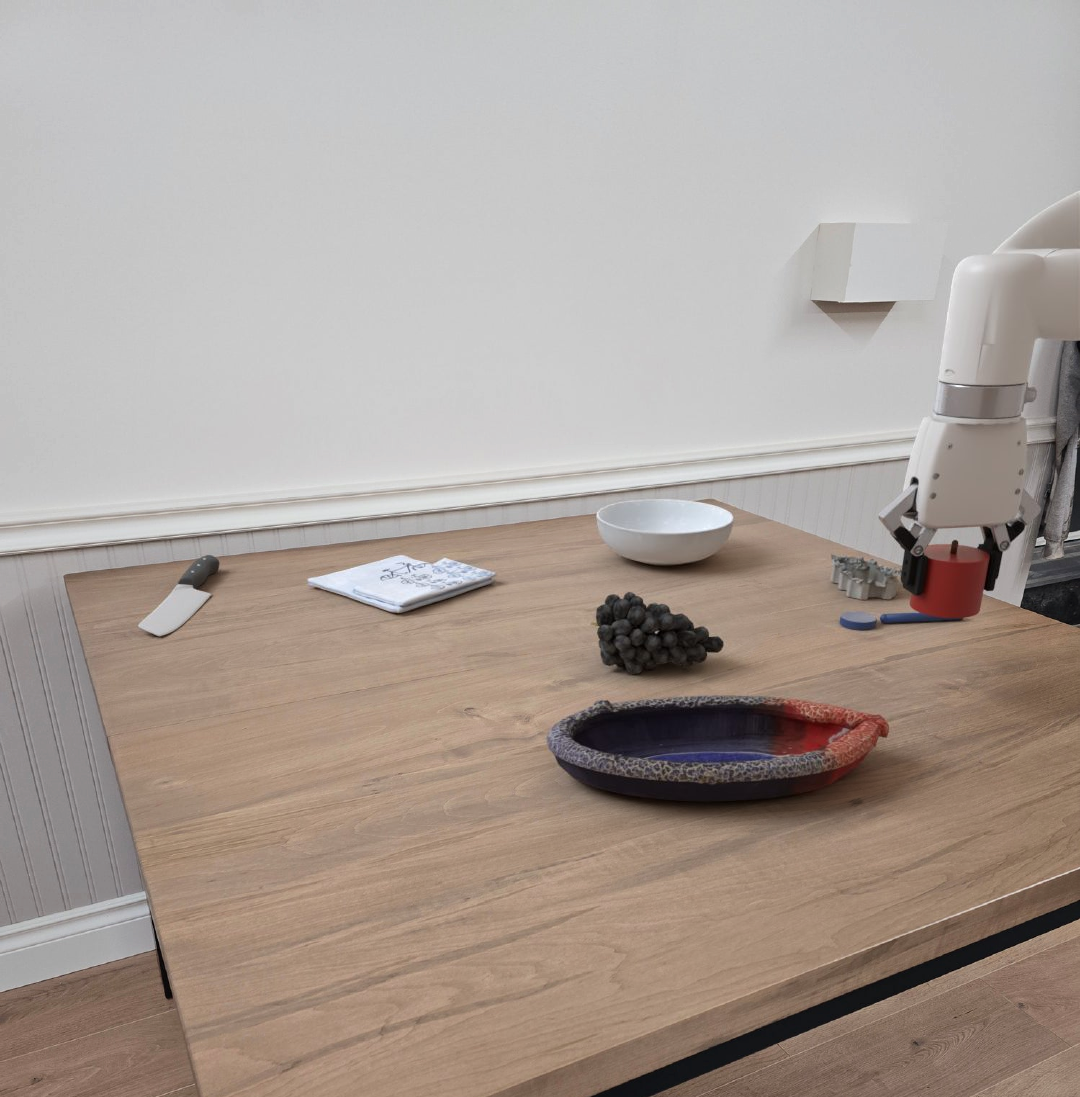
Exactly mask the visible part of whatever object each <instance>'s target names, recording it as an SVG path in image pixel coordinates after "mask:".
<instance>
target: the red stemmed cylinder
mask: <svg viewBox="0 0 1080 1097" xmlns="http://www.w3.org/2000/svg"><path fill="white" fill-rule="evenodd" d="M924 555H926V556H927V557H928V566H927V573H926V579H925V586H924V592H923V594H921V595H918V596H915V595H913V594H912V593H910V598H909V606H910V608H911V609H912V610H914V611H915V612H920V613H923V614H926V615H930V616H935V617H942V618H963V619H966V618H970V617H974V616H976V615H979V613H980V611H981V607H982V601H983V595H984V591H985V590H984V586H985V580H986V575H987V569H988V564H989V558H990V555H989V554H988V553H987V552H985V551H983V550H981V549H978V548H977V547H974V546H969V545H963V544H959V541H958V540H957V539H953V540H952V541H951V543H938V544H936V543H935V544H928V546H927V548H926V549H925V551H924Z"/></svg>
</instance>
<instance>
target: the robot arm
mask: <svg viewBox="0 0 1080 1097" xmlns="http://www.w3.org/2000/svg"><path fill="white" fill-rule="evenodd" d="M1038 339H1041V340H1052V341H1068V342H1078V341H1080V189H1079V190H1077V191H1075V192H1073V193H1071V194H1070V195H1068V196H1065V197H1064V198H1062V199H1060V200H1058V201H1056V202H1055V203H1053V204H1051V205H1049V206H1048V207H1046V208H1044V209H1043V210H1041V211H1040V212H1038V213H1037V214H1036V215H1034V216H1033V217H1031V218H1030V219H1029V220H1027V221H1026V222H1025V223H1024V224H1022V225H1021V226H1020V227H1019V228H1018V229H1017V230H1015V231H1014V232H1013V233H1012V234H1011V235H1010V236H1008V237H1007V238H1006V239H1005V240H1004V241H1003V242H1001V244H1000V245H999V246H998V247H997V248H995V249H994V250H993V252H992V253H982V254H974V255H969V256H967V257H965V258H963V259H961V261H959V263H958V264H957V266H956V267H955V269H954V272H953V276H952V282H951V288H950V295H949V301H948V308H947V316H946V322H945V329H944V336H943V342H942V350H941V357H940V362H939V370H938V376H937V381H936V382H937V384H936V388H935V395H934V396H935V397H934V404H933V408H932V410H933V411H932V415H928V416H924V417H923V418H922V420H921V422H920V425H919V427H918V430H917V433H916V437H915V439H914V442H913V446H912V450H911V453H910V457H909V460H908V464H907V469H906V473H905V478H904V483H903V486H902V492H901V493H900V494H899V495H898V496H897V497H896V498H895V499H893V500H892V501H891V502H890V503H888V504H887V505H886V506H885V507H884V508H883V509H882V510H881V511H880V512H879V513H878V520H879V521H880V522H881V523H882V525H883V526H884V527H885V528H886V530H887V531H888V532H889V534H890V536H891V537H892V538H893V539H894V540H895V541H896V542H897V543H898V545H899V547H900V548H901V549H902V550H903V551H904V552H903V558H902V565H901V570H902V571H901V575H900V582H901V584H902V588H903V589H905V590H906V591H908V592H909V593H910V594H911V593H912V594H913V595H915V596H918V595H921V594H923V592H924V586H925V579H926V573H927V566H928V557H927V556H926V555H924V551H925V549H926V548H927V546H928V545H930V543H931V541H932V540H933V538H934V536H935V535H936V533H937V532H938V530H939V529H942V530H943V529H962V528H978V527H979V528H980V532H981V535H982V538H983V543H978V546H977V547H976V548H978V549H981V550H983V551H985V552H987V553H988V554H989V555H990V558H989V564H988V569H987V575H986V580H985V586H984V591H986V592H993V591H994V590H995V587H996V581H997V580H998V578H999V575H1000V570H1001V565H1002V560H1003V554H1004V552H1006V551H1008V550H1009V549H1010V547H1011V543H1012V542H1013V541H1014V540H1015V539H1017V537H1019V536H1020V535H1021V534H1022V533H1023V532H1024V531H1025V529H1026V526H1028V525H1030V524H1031V523H1032V522H1033V521H1034V519H1036V518H1037V517H1038V516H1039V515H1040V514H1041V512H1042V507H1041V506H1040V504H1039V503H1038V502H1037V501H1036V500H1035V499H1034V498H1033V497H1032V496H1031V494H1029V493H1028V491H1027V490H1026V489H1025V488H1024V484H1025V477H1026V469H1027V455H1028V431H1027V430H1028V429H1027V427H1028V426H1027V418H1026V417H1023V416H1022V413H1023V412H1024V409H1025V405H1026V404H1027V403H1033V402H1035V401H1036V399H1037V395H1038V390H1037V388H1036V387H1034V386H1032V387H1031V386H1030V387H1029V381H1028V380H1029V374H1030V369H1031V365H1032V359H1033V354H1034V349H1035V342H1036V341H1037V340H1038ZM902 516H903V517H904V518H906V519H909V520H912V521H911V522H910V524H909V526H908V528H906V526H905V525H904V524H903V523H904V522H902Z"/></svg>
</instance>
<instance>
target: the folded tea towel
mask: <svg viewBox="0 0 1080 1097" xmlns="http://www.w3.org/2000/svg"><path fill="white" fill-rule="evenodd" d="M497 575H498V574H497V573H496V572H494V571H492V570H488V569H484V568H479V567H476V566H473V565H469V564H466V563H463V562H461V561H457V560H453V559H449V558H447V557H443V558H441V559H440V560H437V562H434V563H431V562H426V561H422V560H419V559H414V558H411V557H410V556H407V555H403V554H400V555H395V556H391V557H387V558H384V559H381V560H377V561H374V562H369V563H365V564H362V565H357V566H354V567H351V568H347V569H344V570H339V571H336V572H332V573H327V574H325V575H320V576H314V577H309V578H307V586H308V587H313V588H319V589H321V590H324V591H328V592H331V593H334V594H337V595H341V596H345V597H346V598H350V599H351V600H355V601H358V602H361V603H363V604H365V605H370V606H372V607H375V608H379V609H381V610H385V611H387V612H388V613H395V614H402V613H405V612H408V611H411V610H414V609H415V610H416V609H419V608H421V607H424V606H428V605H430V604H433V603H437V602H440V601H443V600H446V599H450V598H454V597H456V596H459V595H461V594H462V595H463V594H464V593H468V592H471V591H473V590H476V589H478V588H481V587H485V586H488V585H491V584H494V582H495V580H494V579H493V578H494V577H497Z"/></svg>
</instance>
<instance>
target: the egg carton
mask: <svg viewBox="0 0 1080 1097" xmlns="http://www.w3.org/2000/svg"><path fill="white" fill-rule="evenodd" d="M830 557H831V561H832V565H831V571H830V572H831V573H830V582H831V583H833V584H838V586H837V588H838V589H839V590H840V591H846V597H848V598H852V599H857V600H860V601H867V600H868V598H880V599H883V600H885V599H886V600H892V598H895V597H896V595H897V592H898V588H899V579H898V577H899V576H901V571H902V568H899V567H894V568H893V567H889V566H886V565H883V564H878V561H877V560H876V559H874V558H871V559H870V560H869V561H868V560H865V558H864V556H860V557H858V558H857V557H856V556H850V557H849V556H847V555H844V556H837V555H834V554H832V553H831V555H830Z"/></svg>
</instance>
